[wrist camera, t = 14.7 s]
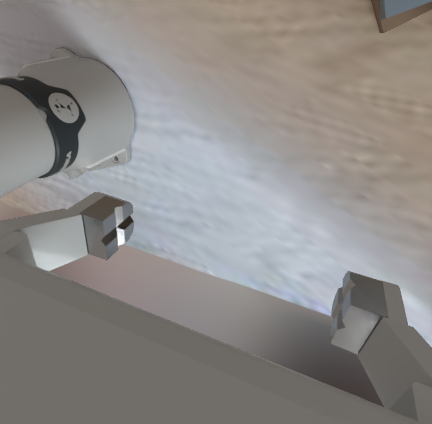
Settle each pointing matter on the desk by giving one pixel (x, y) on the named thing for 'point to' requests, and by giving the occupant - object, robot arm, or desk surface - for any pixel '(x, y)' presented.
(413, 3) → the slate-grey upper block
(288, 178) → the desk surface
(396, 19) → the walnut base block
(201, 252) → the desk surface
